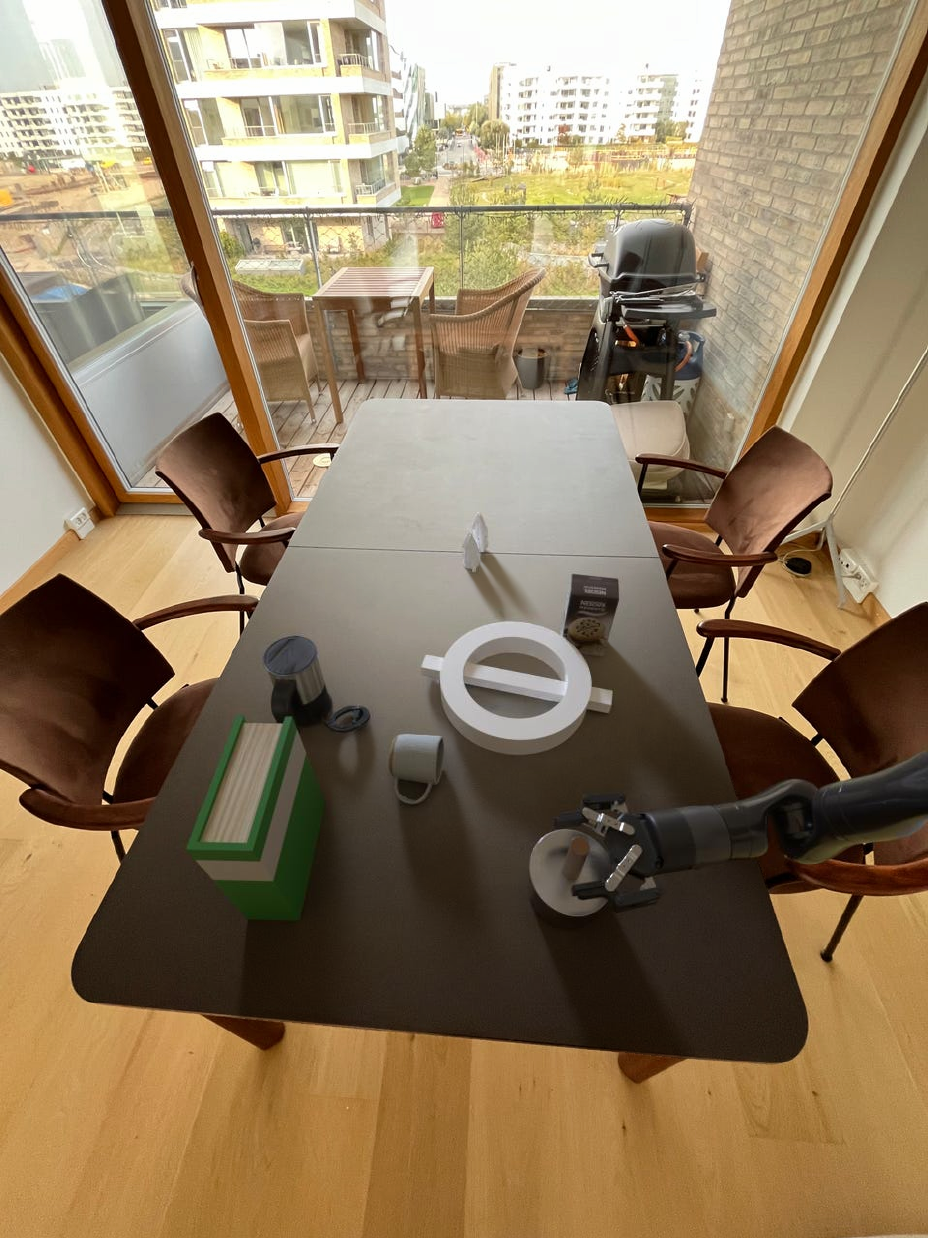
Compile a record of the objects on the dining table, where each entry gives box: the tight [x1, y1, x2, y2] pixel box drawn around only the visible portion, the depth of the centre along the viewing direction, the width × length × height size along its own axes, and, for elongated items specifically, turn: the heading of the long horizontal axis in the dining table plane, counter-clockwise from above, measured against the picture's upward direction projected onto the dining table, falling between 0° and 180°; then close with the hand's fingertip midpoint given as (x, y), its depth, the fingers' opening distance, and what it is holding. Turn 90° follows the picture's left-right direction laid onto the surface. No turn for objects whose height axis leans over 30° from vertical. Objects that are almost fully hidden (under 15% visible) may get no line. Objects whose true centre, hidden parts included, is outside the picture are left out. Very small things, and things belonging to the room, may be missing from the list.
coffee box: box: [559, 573, 620, 658], centre depth 109 cm, size 9×6×16 cm
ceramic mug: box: [388, 733, 445, 805], centre depth 90 cm, size 11×8×8 cm
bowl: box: [527, 876, 599, 932], centre depth 77 cm, size 10×10×7 cm
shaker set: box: [462, 511, 489, 573], centre depth 131 cm, size 12×4×11 cm, turn 160°
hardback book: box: [185, 715, 326, 922], centre depth 75 cm, size 18×7×24 cm, turn 179°
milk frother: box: [261, 635, 371, 737], centre depth 97 cm, size 14×16×15 cm
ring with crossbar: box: [420, 621, 613, 756], centre depth 104 cm, size 28×28×5 cm
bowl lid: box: [528, 828, 615, 917], centre depth 72 cm, size 11×11×9 cm
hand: (562, 856), depth 70 cm, fingers open, 8 cm apart
